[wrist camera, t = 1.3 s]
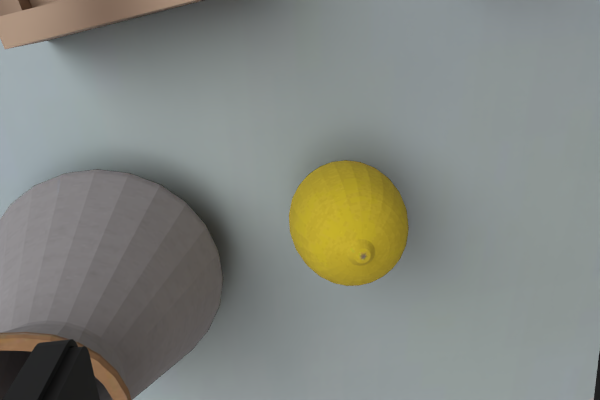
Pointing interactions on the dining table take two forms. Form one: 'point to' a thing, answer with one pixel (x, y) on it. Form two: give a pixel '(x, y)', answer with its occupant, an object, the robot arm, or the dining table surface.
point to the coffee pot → (106, 277)
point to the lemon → (348, 223)
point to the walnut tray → (69, 17)
